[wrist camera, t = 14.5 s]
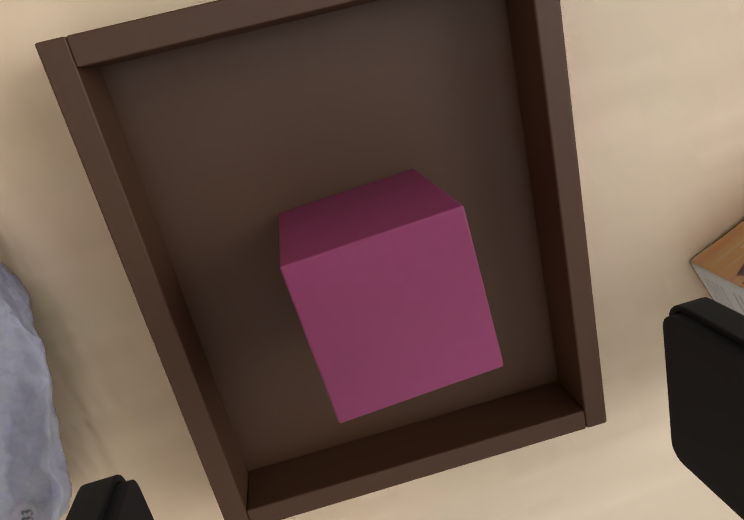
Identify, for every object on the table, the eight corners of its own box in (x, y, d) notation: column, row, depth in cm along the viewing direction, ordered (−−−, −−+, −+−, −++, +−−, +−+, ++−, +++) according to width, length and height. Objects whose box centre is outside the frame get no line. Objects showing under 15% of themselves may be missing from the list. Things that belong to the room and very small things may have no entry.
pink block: (323, 336, 22) (339, 424, 16) (278, 213, 20) (279, 266, 15) (448, 293, 22) (504, 366, 16) (414, 168, 20) (463, 205, 15)
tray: (235, 483, 24) (230, 535, 21) (68, 46, 18) (33, 43, 15) (571, 384, 25) (607, 422, 22) (513, -59, 19) (552, -79, 16)
